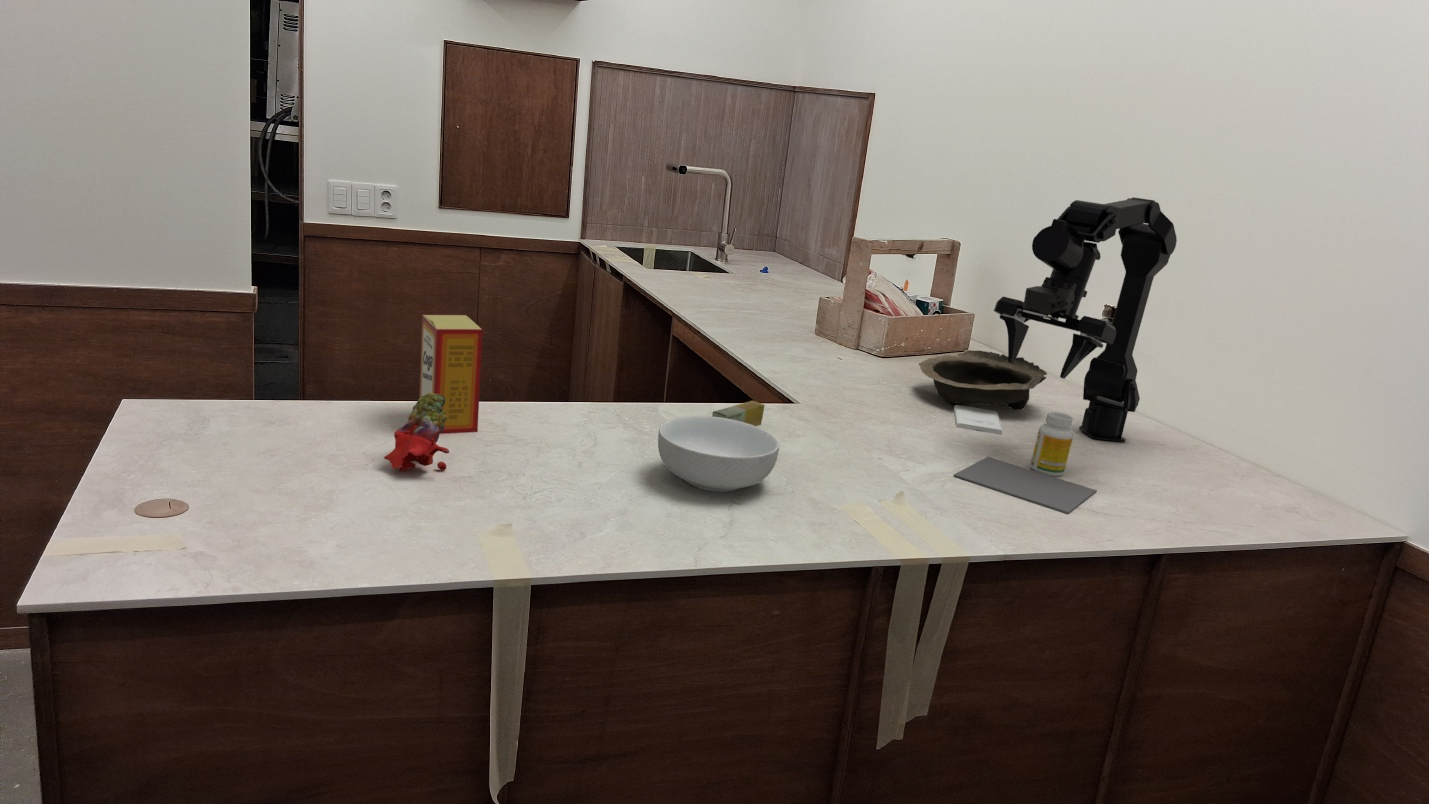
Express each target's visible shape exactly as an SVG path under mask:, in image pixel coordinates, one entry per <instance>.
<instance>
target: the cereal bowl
mask: <svg viewBox="0 0 1429 804" xmlns="http://www.w3.org/2000/svg"><path fill="white" fill-rule="evenodd" d="M780 447H781V446H780V442H779V440H778V439H777V438H776V437H775V436H774V435H773V434H772V433H770V432H768V431H767V430H765V429H763V428H760V427H758V426H754V425H751V424H748V423H744V422H741V421H736V420H732V419H727V418H720V417H712V416H708V415H690V416H689V415H687V416H681V417H674V418H671V419H669V420H667V421H665V422H663V423H662V424H661V425H660V427H659V429H658V435H657V448H658V453H659V457H660V459H661V460H662V463H663V464H664V465H665V467H666V468H667V470H669V471H670V472H671V473H672V474H674V475H675V476H676V477H679V478H680V479H682V480H684V481H686V482H687V483H688V484H690V485H691V486H693V487H695V488H698V489H700V490H704V491H708V492H716V493H717V492H718V493H720V492H721V493H723V492H724V493H726V492H732V491H736V490H737V489H743V488H747V487H751V486H753V485H757V484H758V483H760V482H762V481H763V480H765V479H766V478H767V477H768V476H769V474H771V472H772V471H773V469H774V467H775V465H776V462H777V461H778V456H779V452H780Z"/></svg>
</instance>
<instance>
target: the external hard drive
mask: <svg viewBox="0 0 1429 804" xmlns="http://www.w3.org/2000/svg"><path fill="white" fill-rule="evenodd" d="M953 412H954V420H955V425H956V428H959V429H964V430H970V431H979V432H982V433H987V434H988V433H989V434H994V435H999V436H1000V435H1001V436H1002V435H1003V432H1004V431H1003V428H1002V424H1001V420H1000V417H999V413H998V412H997V410H996V411H995V410H991V409H985V408H978V407H974V406H967V405H961V404H956V405H954V408H953Z"/></svg>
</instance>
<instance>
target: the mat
mask: <svg viewBox="0 0 1429 804" xmlns="http://www.w3.org/2000/svg"><path fill="white" fill-rule="evenodd" d="M953 477H954V478H957V479H960V480H963V481H966V482H968V483H973V484H976V485H978V486H981V487H984V488H987V489H991V490H993V491H996V492H1000V493H1003V494H1005V495H1009V496H1011V497H1015V498H1018V499H1022V500H1024V501H1027V502H1031V503H1032V504H1036V505H1038V506H1039V505H1040V506H1042V507H1045V508H1048V509H1051V510H1054V511H1058V512H1060V513H1064V514H1067V515H1069V514H1070V513H1071V512H1073V511H1074V510H1075V509H1077V508H1078V507H1079V506H1081V505H1082V504H1083V503H1085V502H1086V501H1087V500H1088V499H1089V498H1091V497H1093V495H1095V494H1096V493H1097V489H1094V488H1092V487H1091V488H1090V487H1087V486H1084V485H1081V484H1078V483H1076V482H1075V483H1074V482H1072V481H1068V480H1064V479H1063V478H1058V477H1057V476H1049V475H1046V474H1043V473H1040V472H1036V471H1034V470H1033V469H1030V468H1026V467H1023V466H1019V465H1017V464H1013V463H1010V462H1007V461H1004V460H1000V459H997V458H994V457H991V456H986V457H984V458H982V459H981V460H979V461H976V462H975V463H973V464H971V465H969V466H968V467H965V468H964V469H961V470H960V471H958V472H956V473H954V474H953Z"/></svg>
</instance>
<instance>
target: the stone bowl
mask: <svg viewBox="0 0 1429 804" xmlns="http://www.w3.org/2000/svg"><path fill="white" fill-rule="evenodd" d="M1034 363H1035V362H1030V361H1028V360H1025V358H1024V357H1022V356H1021V357H1018V356H1017V357H1016V359H1015V361H1014V363H1013V364H1011V363H1009V362H1008V356H1007V355H1005V354H1000V353H996V352H992V351H990V352H989V351H983V350H966V351H964V352H959V353H957V354H956V355H950V354H945V355H940V356H934V357H929V358H926V359H924V360H921V362H919V363H918V365H919V368H920V370H921V372H922V374H924V375H925V376H926V377H928V378H930V379H931V380H933V386H934V387H935V391H936V392H937V395H938V397H939V398H941V399H942V400H943V401H945V402H947V403H948V404H959V405H961V404H962V405H991V406H993V405H1005V404H1006V406H1007V407H1008V408H1010V409H1012V410H1016V411H1020V410H1024V409H1025V408H1026V405H1027V404H1028V402H1029V400H1030V390H1031V389H1034V388H1035V387H1036V386H1038V385H1039V384H1040V383H1042V382H1044V381H1045V380H1046V379H1047V375H1048V373H1047V371H1045V370H1044V369H1042V368H1040V366H1039V365H1035V364H1034Z"/></svg>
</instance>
